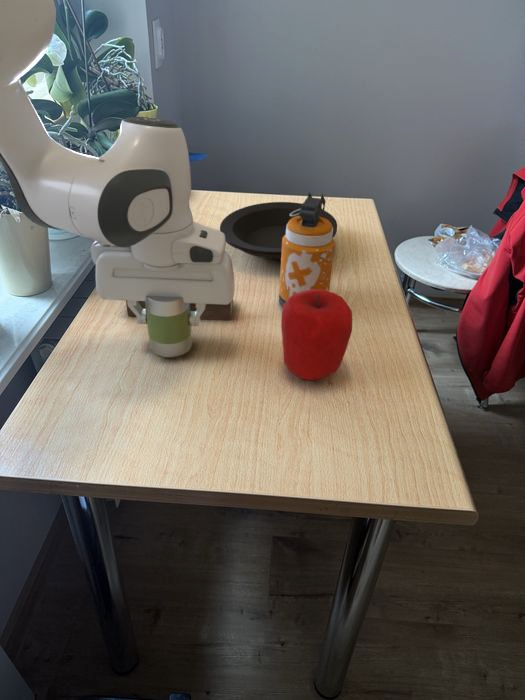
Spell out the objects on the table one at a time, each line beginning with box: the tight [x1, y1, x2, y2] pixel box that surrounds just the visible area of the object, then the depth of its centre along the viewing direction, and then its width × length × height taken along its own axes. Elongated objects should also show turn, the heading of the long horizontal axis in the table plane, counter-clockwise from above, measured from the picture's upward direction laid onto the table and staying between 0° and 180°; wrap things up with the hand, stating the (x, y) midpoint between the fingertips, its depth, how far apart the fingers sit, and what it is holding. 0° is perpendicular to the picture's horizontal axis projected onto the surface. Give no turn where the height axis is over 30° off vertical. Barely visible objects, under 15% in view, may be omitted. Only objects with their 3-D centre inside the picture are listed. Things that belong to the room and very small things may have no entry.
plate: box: [219, 201, 338, 260], centre depth 115 cm, size 28×24×6 cm
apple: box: [280, 289, 353, 381], centre depth 77 cm, size 10×10×14 cm
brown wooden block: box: [125, 299, 234, 321], centre depth 93 cm, size 18×6×7 cm, turn 88°
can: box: [145, 296, 193, 358], centre depth 82 cm, size 7×7×10 cm
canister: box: [278, 192, 336, 308], centre depth 92 cm, size 9×11×20 cm
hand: (169, 323), depth 82 cm, fingers closed on can, 7 cm apart
